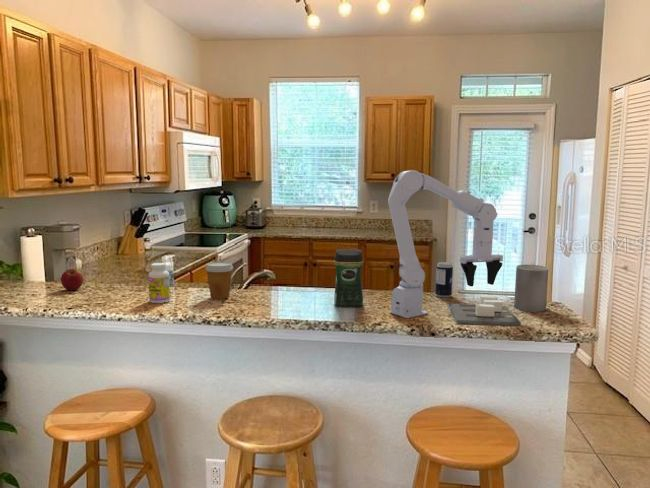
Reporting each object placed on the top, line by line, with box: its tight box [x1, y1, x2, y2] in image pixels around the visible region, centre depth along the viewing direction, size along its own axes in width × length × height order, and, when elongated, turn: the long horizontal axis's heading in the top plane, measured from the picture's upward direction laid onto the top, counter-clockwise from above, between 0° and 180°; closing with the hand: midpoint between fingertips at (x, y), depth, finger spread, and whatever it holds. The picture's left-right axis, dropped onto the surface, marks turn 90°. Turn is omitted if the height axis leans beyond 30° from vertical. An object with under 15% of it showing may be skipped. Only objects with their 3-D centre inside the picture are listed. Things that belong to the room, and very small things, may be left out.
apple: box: [60, 268, 85, 291], centre depth 180 cm, size 8×8×8 cm
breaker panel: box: [447, 303, 522, 327], centre depth 151 cm, size 18×19×1 cm
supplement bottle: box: [148, 262, 171, 304], centre depth 165 cm, size 7×7×13 cm
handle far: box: [479, 294, 498, 304], centre depth 158 cm, size 5×2×3 cm, turn 83°
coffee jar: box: [333, 248, 364, 308], centre depth 162 cm, size 10×8×19 cm
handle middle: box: [483, 299, 503, 312], centre depth 152 cm, size 5×2×3 cm, turn 83°
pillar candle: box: [513, 262, 549, 313], centre depth 159 cm, size 10×10×15 cm
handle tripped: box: [475, 303, 495, 317], centre depth 147 cm, size 5×2×3 cm, turn 83°
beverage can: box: [435, 261, 454, 298], centre depth 175 cm, size 6×6×12 cm
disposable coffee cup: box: [205, 261, 234, 300], centre depth 170 cm, size 10×10×12 cm
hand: (480, 285), depth 153 cm, fingers open, 7 cm apart
